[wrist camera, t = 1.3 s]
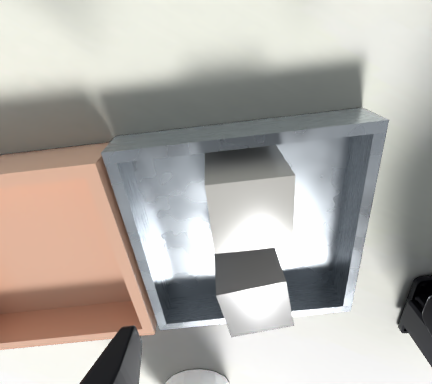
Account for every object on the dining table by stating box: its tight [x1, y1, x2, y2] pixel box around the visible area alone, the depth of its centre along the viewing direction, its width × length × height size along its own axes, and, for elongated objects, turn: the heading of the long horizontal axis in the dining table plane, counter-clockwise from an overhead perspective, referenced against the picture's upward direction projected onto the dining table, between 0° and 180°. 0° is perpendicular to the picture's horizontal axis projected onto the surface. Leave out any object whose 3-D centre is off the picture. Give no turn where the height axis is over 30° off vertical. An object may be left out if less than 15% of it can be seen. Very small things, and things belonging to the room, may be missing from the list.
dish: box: [0, 142, 157, 350], centre depth 18 cm, size 13×13×3 cm
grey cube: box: [214, 248, 294, 337], centre depth 18 cm, size 4×4×4 cm
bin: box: [101, 108, 389, 330], centre depth 18 cm, size 14×14×2 cm
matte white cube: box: [205, 145, 296, 254], centre depth 15 cm, size 4×4×4 cm
